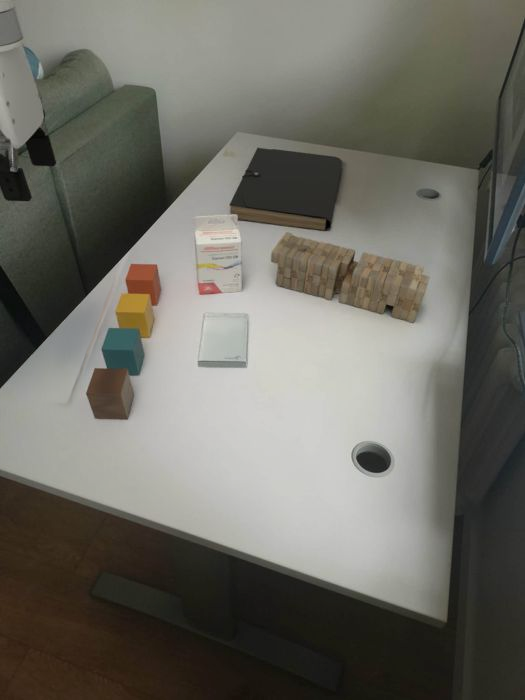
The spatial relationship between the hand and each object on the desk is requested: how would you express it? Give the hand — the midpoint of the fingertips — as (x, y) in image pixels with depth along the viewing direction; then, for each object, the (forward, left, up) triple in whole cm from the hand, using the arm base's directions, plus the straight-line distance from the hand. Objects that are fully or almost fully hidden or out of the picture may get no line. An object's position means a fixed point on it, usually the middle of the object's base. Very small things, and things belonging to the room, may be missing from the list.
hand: (32, 181), depth 65 cm
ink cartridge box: (+22, +18, -31) cm, 42 cm away
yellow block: (+8, +5, -30) cm, 32 cm away
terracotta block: (+8, +14, -30) cm, 34 cm away
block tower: (+47, +17, -31) cm, 59 cm away
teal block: (+8, -4, -30) cm, 32 cm away
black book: (+37, +58, -31) cm, 75 cm away
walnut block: (+8, -13, -30) cm, 34 cm away
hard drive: (+24, +2, -31) cm, 39 cm away
